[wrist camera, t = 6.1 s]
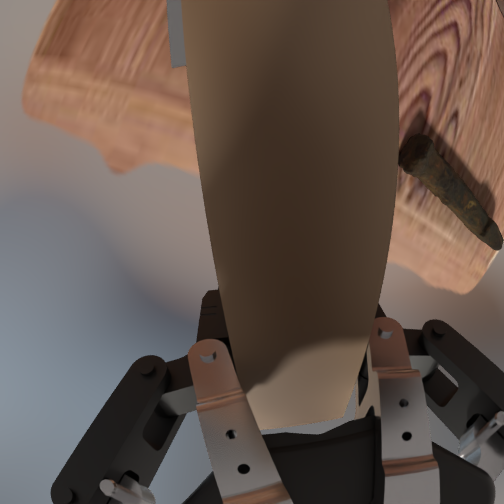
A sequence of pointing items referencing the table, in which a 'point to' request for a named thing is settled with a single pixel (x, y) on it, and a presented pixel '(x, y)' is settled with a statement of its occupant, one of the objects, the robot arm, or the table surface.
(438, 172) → the hand tool
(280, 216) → the tan wooden bar
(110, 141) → the table surface
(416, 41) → the table surface
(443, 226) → the table surface
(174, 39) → the rubber mat
